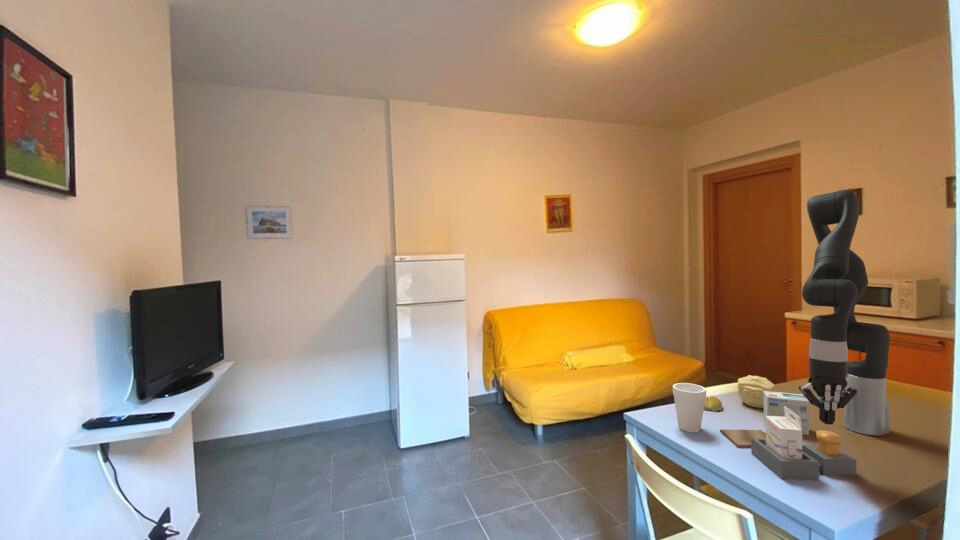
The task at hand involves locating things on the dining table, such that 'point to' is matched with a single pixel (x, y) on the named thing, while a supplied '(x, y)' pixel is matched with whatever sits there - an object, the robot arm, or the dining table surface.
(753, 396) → the sculpture
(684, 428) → the foam cup
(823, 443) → the orange dome button
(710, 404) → the bread roll
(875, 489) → the dining table surface
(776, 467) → the cartridge dock
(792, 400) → the light bulb box
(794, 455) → the ink cartridge box
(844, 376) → the robot arm
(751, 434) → the walnut pad
